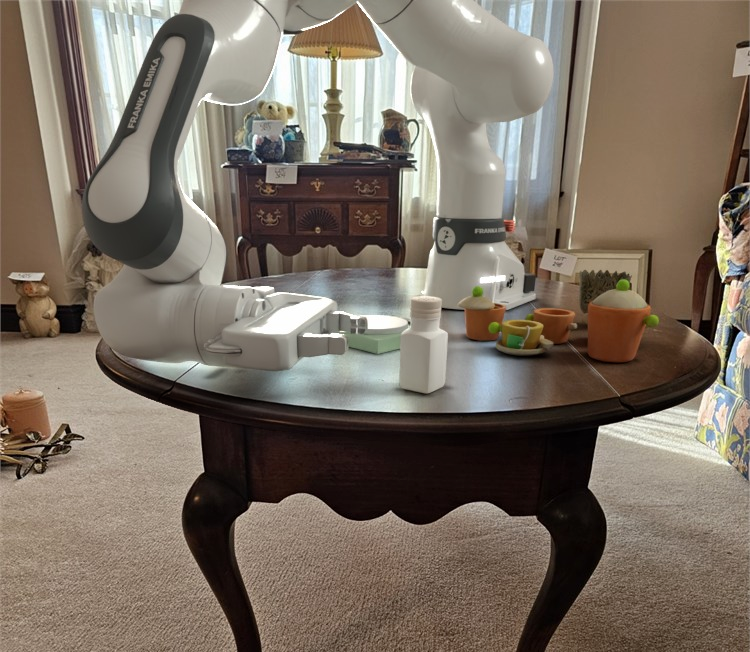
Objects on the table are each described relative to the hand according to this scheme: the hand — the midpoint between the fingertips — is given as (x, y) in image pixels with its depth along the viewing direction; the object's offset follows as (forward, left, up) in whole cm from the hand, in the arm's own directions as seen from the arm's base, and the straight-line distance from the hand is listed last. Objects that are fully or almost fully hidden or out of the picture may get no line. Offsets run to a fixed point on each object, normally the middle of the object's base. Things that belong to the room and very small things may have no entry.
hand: (357, 334), depth 70 cm
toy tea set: (-31, +6, -6) cm, 32 cm away
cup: (-48, +4, -6) cm, 48 cm away
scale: (-17, -13, -5) cm, 22 cm away
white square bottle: (-4, +6, -6) cm, 9 cm away
